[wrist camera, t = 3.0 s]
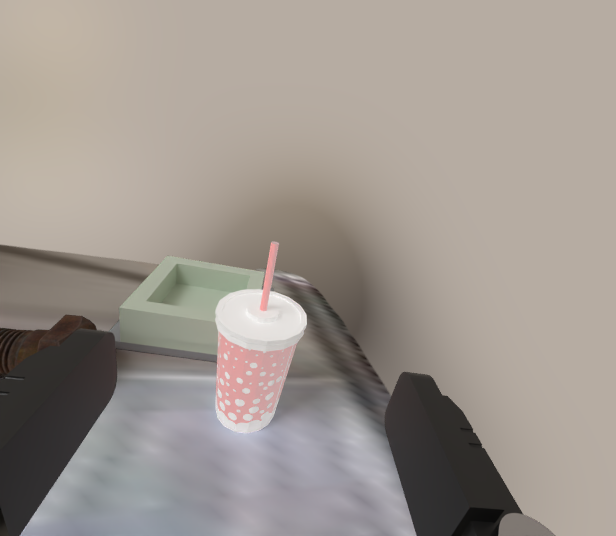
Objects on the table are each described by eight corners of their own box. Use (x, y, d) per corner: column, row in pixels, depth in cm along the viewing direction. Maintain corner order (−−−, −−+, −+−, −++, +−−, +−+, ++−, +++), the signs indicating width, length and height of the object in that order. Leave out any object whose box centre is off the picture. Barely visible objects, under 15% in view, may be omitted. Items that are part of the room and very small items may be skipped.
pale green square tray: (102, 346, 28) (99, 304, 26) (163, 275, 40) (163, 243, 38) (263, 368, 29) (271, 330, 28) (272, 293, 42) (278, 264, 40)
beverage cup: (243, 367, 29) (267, 220, 23) (298, 405, 26) (341, 250, 21) (187, 408, 24) (200, 234, 18) (248, 460, 21) (285, 276, 16)
